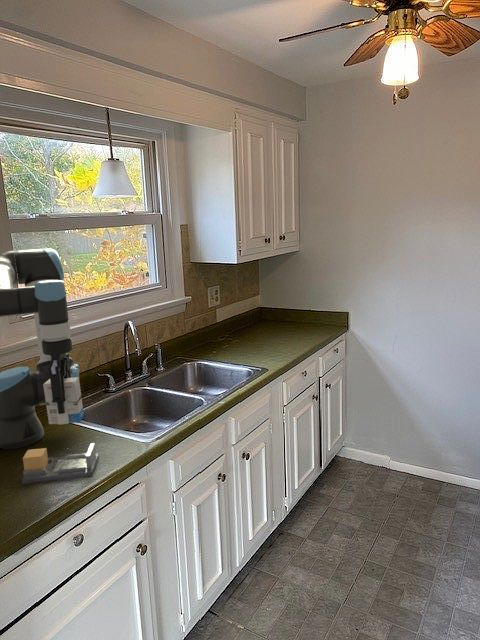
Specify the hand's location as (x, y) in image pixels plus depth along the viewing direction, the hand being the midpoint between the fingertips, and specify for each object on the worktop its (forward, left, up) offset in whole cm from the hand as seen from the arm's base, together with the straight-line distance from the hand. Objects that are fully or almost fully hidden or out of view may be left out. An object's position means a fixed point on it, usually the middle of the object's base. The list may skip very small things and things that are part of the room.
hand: (66, 419), depth 135 cm
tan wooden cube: (0, -9, -14) cm, 17 cm away
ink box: (0, 0, -1) cm, 1 cm away
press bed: (0, -2, -15) cm, 15 cm away
